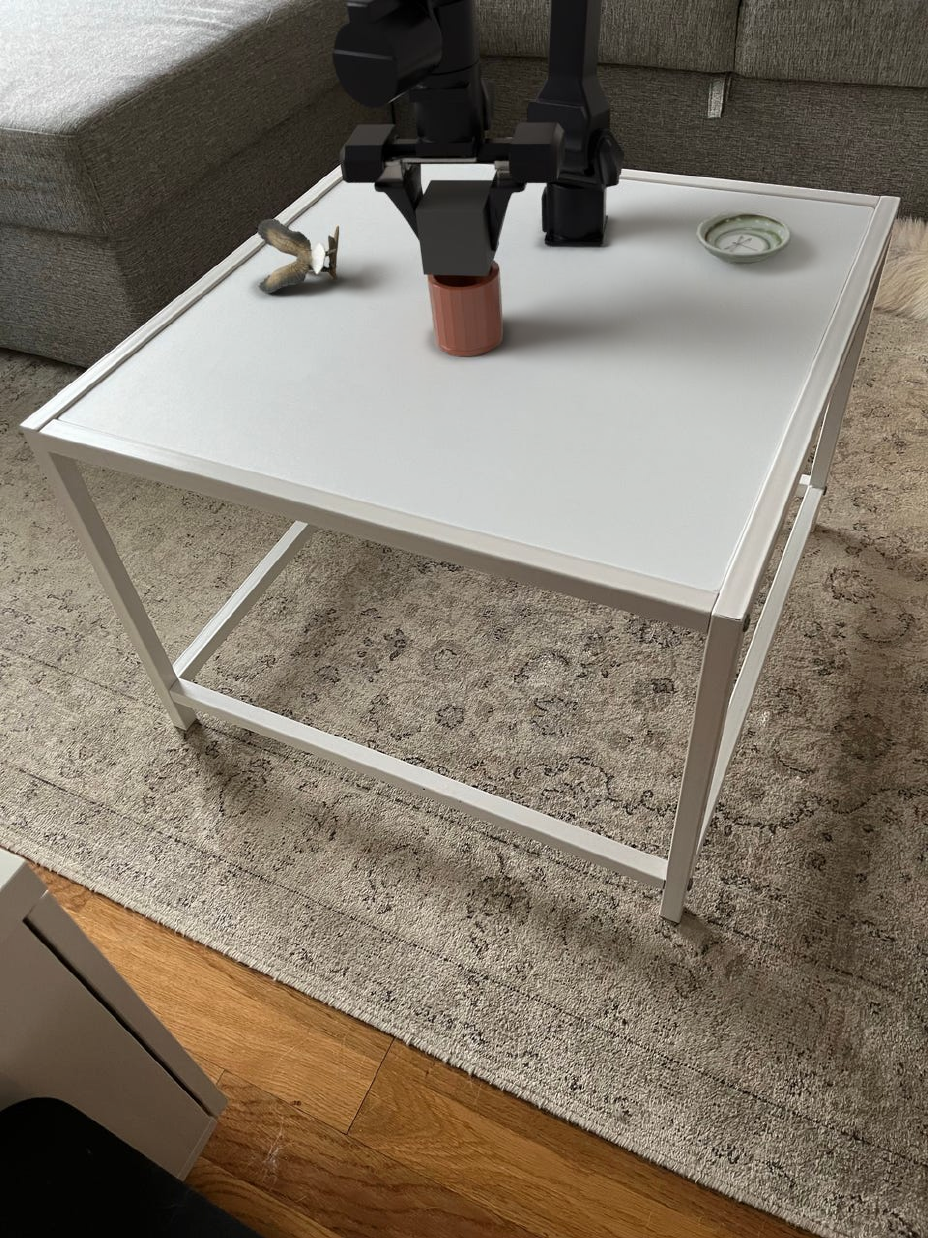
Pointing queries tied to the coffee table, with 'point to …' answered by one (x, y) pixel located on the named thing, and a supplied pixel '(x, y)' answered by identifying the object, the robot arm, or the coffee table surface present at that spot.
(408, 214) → the robot arm
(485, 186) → the block
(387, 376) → the coffee table surface
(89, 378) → the coffee table surface
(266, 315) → the coffee table surface
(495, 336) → the cup
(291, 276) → the eagle figurine
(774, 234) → the saucer
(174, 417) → the coffee table surface
